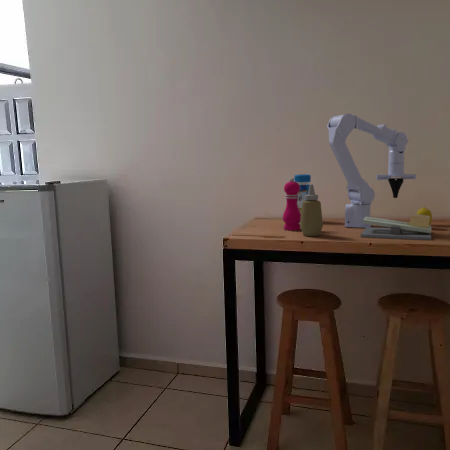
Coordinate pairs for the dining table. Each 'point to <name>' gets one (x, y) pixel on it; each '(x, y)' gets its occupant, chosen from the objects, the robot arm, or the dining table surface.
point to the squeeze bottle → (311, 214)
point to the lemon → (425, 213)
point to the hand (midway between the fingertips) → (395, 197)
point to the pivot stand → (394, 233)
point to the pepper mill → (292, 206)
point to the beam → (395, 224)
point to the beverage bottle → (302, 188)
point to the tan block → (419, 220)
